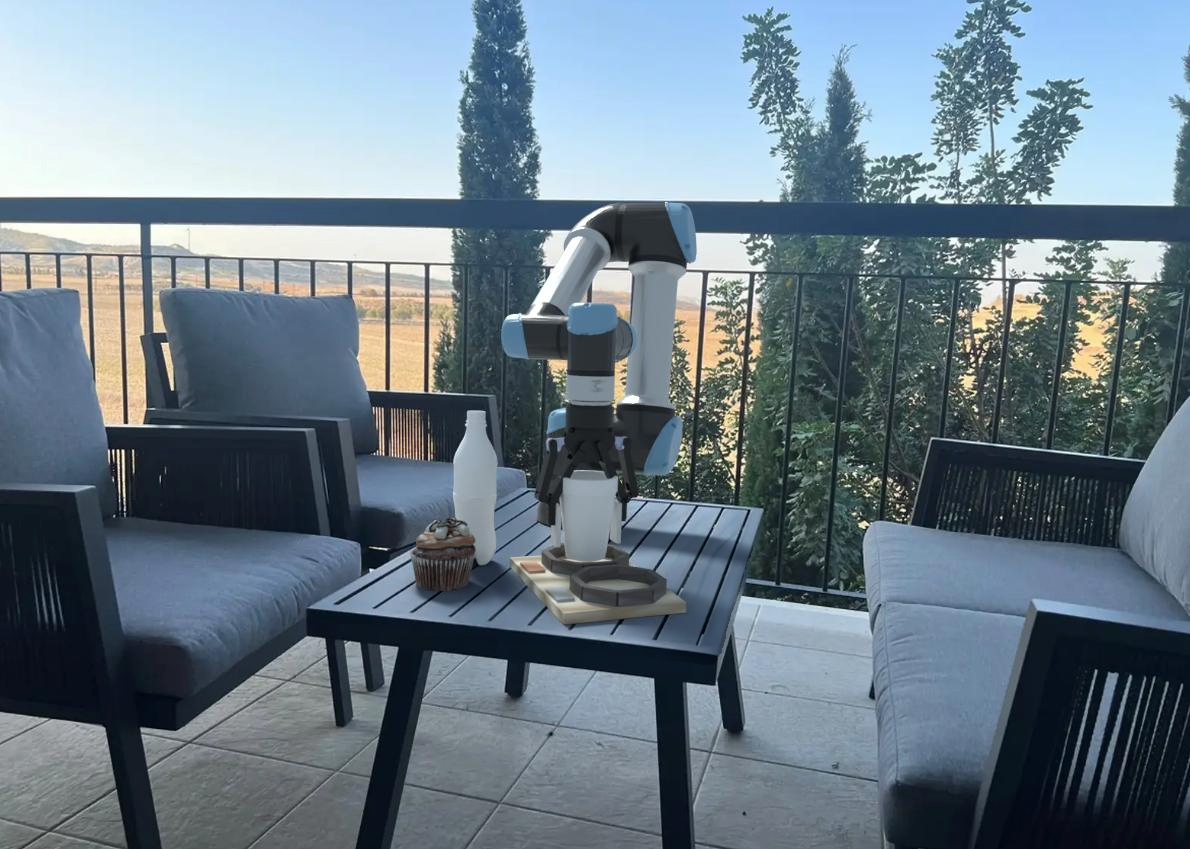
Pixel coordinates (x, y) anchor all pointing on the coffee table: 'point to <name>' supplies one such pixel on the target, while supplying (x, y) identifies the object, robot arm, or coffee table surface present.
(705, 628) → the coffee table surface
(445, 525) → the cupcake
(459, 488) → the water bottle
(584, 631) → the coffee table surface
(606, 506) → the foam cup
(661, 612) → the socket board
